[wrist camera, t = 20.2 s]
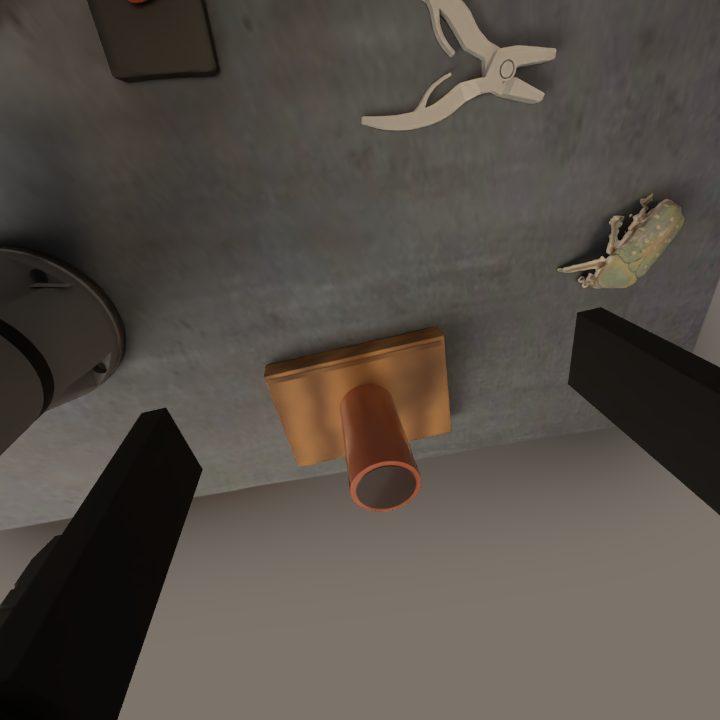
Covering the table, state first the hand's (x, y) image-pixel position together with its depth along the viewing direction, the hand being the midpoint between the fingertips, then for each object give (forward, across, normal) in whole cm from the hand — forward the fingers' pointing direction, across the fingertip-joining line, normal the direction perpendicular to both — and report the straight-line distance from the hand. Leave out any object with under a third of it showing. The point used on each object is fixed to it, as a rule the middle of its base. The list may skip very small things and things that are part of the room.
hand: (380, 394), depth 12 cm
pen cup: (+24, 0, -19) cm, 31 cm away
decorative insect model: (+27, +29, -7) cm, 40 cm away
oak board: (+27, 0, -19) cm, 33 cm away
